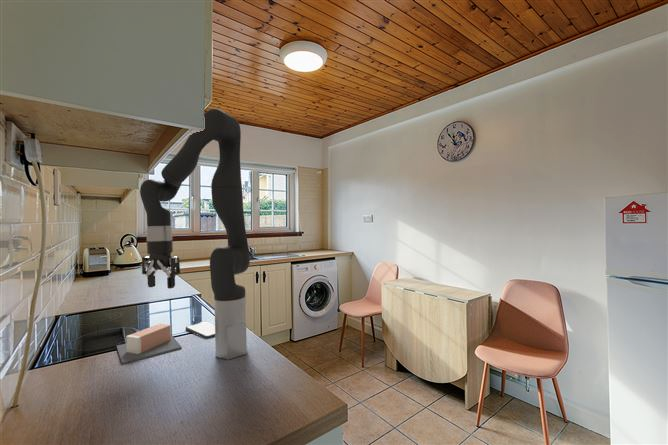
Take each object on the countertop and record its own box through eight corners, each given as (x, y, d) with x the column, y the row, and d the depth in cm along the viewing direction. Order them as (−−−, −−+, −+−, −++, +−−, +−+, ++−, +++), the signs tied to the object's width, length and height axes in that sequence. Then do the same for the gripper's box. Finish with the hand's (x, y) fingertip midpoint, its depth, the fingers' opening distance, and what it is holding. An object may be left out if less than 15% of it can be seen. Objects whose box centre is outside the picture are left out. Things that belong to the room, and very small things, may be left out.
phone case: (229, 333, 114) (206, 324, 124) (228, 329, 114) (205, 320, 124) (206, 341, 107) (184, 331, 117) (206, 336, 107) (184, 326, 117)
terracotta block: (170, 325, 106) (137, 337, 95) (170, 339, 106) (138, 354, 95) (159, 323, 108) (126, 336, 96) (160, 337, 108) (126, 351, 96)
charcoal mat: (181, 348, 100) (181, 346, 100) (121, 364, 89) (121, 362, 89) (170, 335, 112) (170, 333, 112) (116, 347, 102) (116, 345, 102)
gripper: (133, 240, 102) (135, 289, 102) (166, 240, 98) (168, 291, 98) (153, 239, 109) (155, 284, 110) (185, 238, 105) (186, 286, 105)
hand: (161, 287), depth 104 cm, fingers open, 8 cm apart
